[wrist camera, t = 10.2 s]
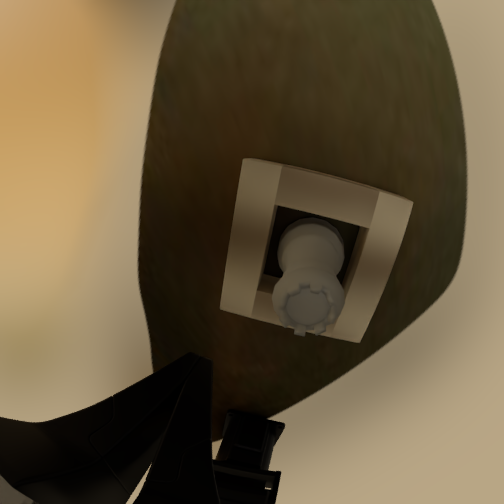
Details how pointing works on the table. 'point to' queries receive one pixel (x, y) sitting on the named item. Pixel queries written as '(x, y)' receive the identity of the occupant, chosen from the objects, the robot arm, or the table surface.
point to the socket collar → (321, 203)
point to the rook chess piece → (309, 276)
